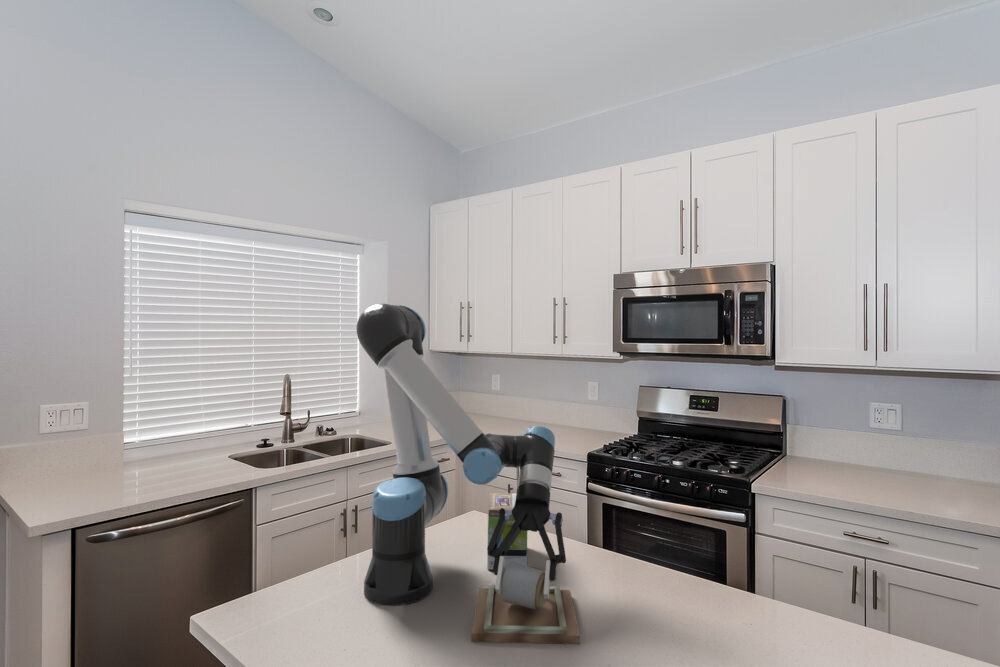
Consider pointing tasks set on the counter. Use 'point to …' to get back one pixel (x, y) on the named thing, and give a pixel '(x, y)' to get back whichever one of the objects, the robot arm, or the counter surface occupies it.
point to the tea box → (506, 530)
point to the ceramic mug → (523, 586)
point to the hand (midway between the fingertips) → (521, 593)
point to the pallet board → (525, 619)
